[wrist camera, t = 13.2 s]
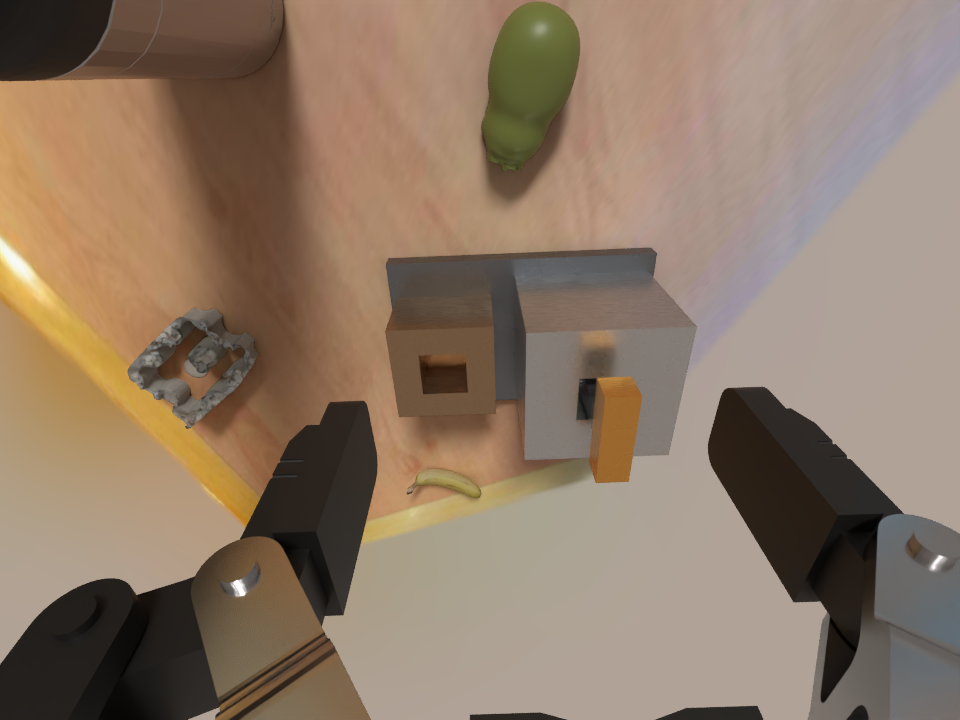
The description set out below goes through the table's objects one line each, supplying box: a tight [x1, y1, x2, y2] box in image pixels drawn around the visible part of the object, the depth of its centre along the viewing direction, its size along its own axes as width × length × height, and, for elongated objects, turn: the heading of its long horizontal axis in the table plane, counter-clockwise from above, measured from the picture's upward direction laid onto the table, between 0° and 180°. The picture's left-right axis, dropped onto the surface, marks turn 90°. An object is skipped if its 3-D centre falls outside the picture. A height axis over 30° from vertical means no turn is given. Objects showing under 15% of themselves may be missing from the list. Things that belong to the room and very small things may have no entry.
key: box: [579, 376, 642, 483], centre depth 34 cm, size 7×2×8 cm, turn 3°
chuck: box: [385, 248, 697, 460], centre depth 38 cm, size 22×14×12 cm, turn 92°
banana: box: [407, 469, 481, 498], centre depth 51 cm, size 8×2×4 cm, turn 72°
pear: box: [481, 2, 580, 172], centre depth 32 cm, size 6×5×10 cm
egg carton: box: [128, 308, 258, 429], centre depth 43 cm, size 11×8×4 cm
